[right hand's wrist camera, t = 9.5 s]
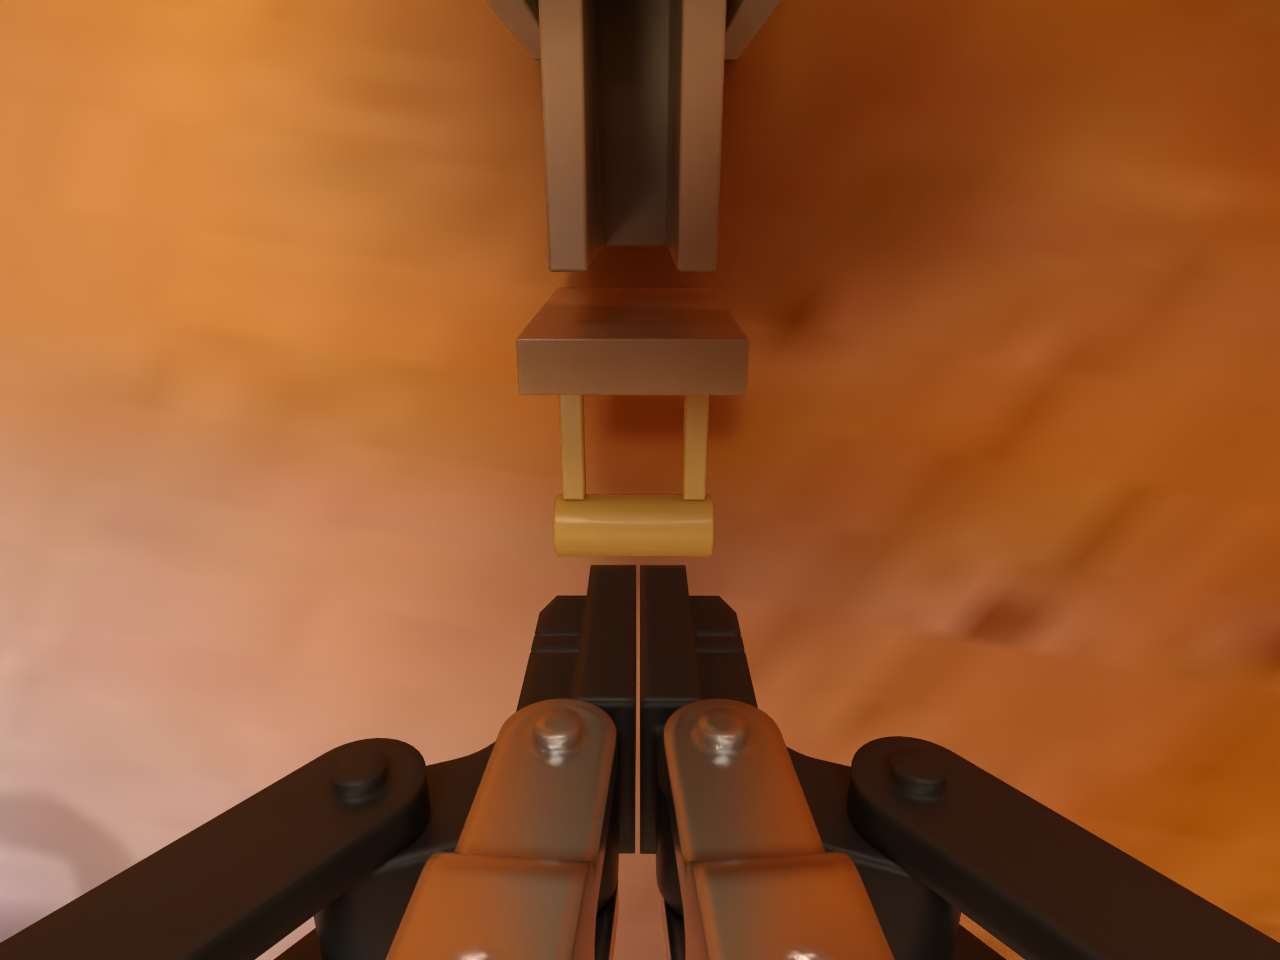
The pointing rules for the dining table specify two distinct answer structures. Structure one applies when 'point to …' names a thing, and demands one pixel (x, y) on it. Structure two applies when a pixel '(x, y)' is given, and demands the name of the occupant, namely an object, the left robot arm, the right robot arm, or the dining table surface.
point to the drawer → (633, 216)
